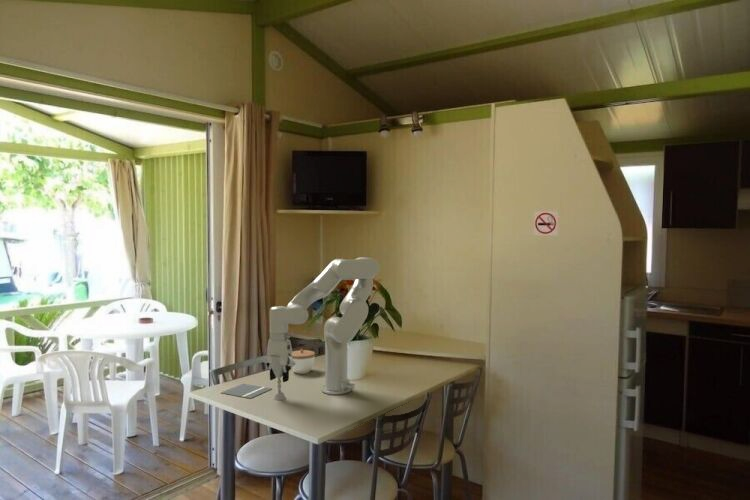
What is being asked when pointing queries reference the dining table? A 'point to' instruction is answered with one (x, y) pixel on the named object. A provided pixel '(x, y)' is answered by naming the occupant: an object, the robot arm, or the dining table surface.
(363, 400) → the dining table surface
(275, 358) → the chalice
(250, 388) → the mat
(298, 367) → the lidded bowl
